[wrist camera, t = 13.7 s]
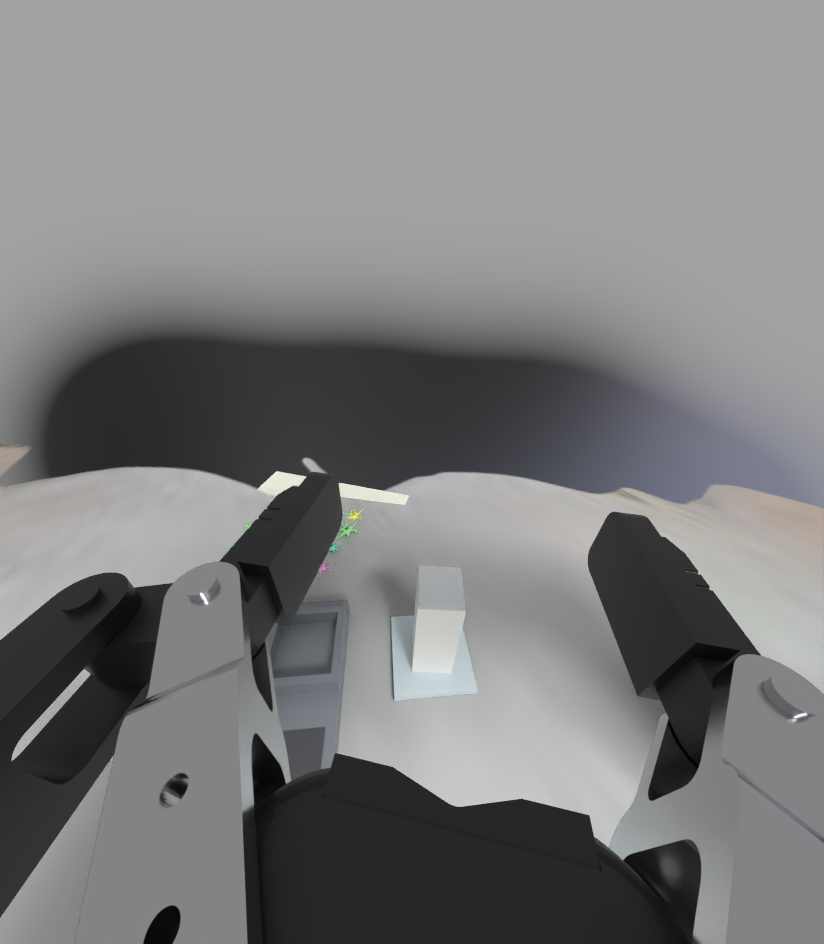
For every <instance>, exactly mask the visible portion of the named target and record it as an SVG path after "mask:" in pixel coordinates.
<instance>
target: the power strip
mask: <svg viewBox="0 0 824 944" xmlns="http://www.w3.org/2000/svg"><path fill="white" fill-rule="evenodd" d="M348 621H349V605H348V600H343V601H326V602H309V603H301V605H300V607H299V609H298V611H297V612H296V614H295V616H294V618H293V620H292V622H291V624H290V626H288V625H283V624H278V623H274V625H273V627H272V629H271V631H270V632H269V634H268V640H269V648H270V656H271V663H272V671H273V679H274V687H275V694H276V702H277V710H278V716H279V721H280V725H281V728H282V732H283V735H284V740H285V744H286V749H287V755H288V762H289V769H290V777H291V781H292V780H294V779H296V778H298V777H300V776H302V775H305V774H307V773H310V772H313V771H317V770H320V769H325V768H331V765H332V761H333V758H334V754H335V753H338V741H339V729H340V717H341V705H342V693H343V681H344V669H345V657H346V645H347V633H348Z"/></svg>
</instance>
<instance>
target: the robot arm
mask: <svg viewBox="0 0 824 944" xmlns="http://www.w3.org/2000/svg"><path fill="white" fill-rule="evenodd" d="M341 522H342V506H341V498H340V490H339V482H338V478H337V476H336V475H333V474H325V473H318V472H311V473H310V474H308V476H307V477H306V478H305V479H304V480H303V482H302V483H301V484H300V485H299V486H291V487H290V488H288V489H286V490H285V491H283V492H282V493H280V494H278V495H277V496H276V497H275V499H274V500H273V501H272V502H271V503H270V504H269V505H268V507H267V509H265V510H264V511H263V512H262V513H261V515H260V516H259V519H258V520H257V519H256V520H255V521H254V523H253V524H252V525H251V526H250V527H249V528H248V529H247V531H246V532H245V533H244V534H243V535H242V536H241V538H240V539H239V540H238V541H237V542H236V543H235V544H234V546H233V547H232V548H231V549H230V550H229V551H228V552H227V554H226V555H225V556H224V557H223V558H222V559H221V560H220V561H219V562H212V563H207V564H204V565H201V566H198V567H196V568H194V569H192V570H190V571H188V572H187V573H185V574H184V575H182V576H181V577H180V578H179V579H178V580H176V581H175V582H174V583H170V584H162V585H153V586H145V587H137V588H134V587H133V586H132V584H131V583H130V582H129V581H128V579H127V578H126V577H125V576H124V575H122V574H119V573H102V574H97V575H94V576H90V577H88V578H85V579H82V580H80V581H78V582H76V583H74V584H72V585H70V586H68V587H67V588H65V589H64V590H62V591H60V592H59V593H58V594H56V595H55V596H54V597H52V598H51V599H50V600H49V601H48V602H46V603H45V604H44V605H43V606H41V607H40V608H39V609H38V610H37V611H35V612H34V613H33V614H32V615H31V616H29V617H28V618H27V619H26V620H24V621H23V622H22V623H21V624H20V625H18V626H17V627H16V628H15V629H13V630H12V631H11V632H10V633H9V634H7V635H6V636H5V637H4V638H3V639H1V640H0V917H1V916H2V914H3V913H4V912H5V910H6V909H7V907H8V906H9V904H10V903H11V901H12V900H13V899H14V897H15V896H16V894H17V893H18V891H19V890H20V889H21V887H22V886H23V884H24V883H25V881H26V880H27V878H28V877H29V876H30V874H31V873H32V871H33V870H34V868H35V867H36V866H37V864H38V863H39V861H40V860H41V858H42V857H43V856H44V854H45V853H46V851H47V850H48V848H49V847H50V845H51V844H52V843H53V841H54V840H55V838H56V837H57V835H58V834H59V833H60V831H61V830H62V828H63V827H64V825H65V824H66V822H67V821H68V820H69V818H70V817H71V815H72V814H73V812H74V811H75V810H76V808H77V807H78V805H79V804H80V802H81V801H82V799H83V798H84V797H85V795H86V794H87V792H88V791H89V789H90V788H91V787H92V785H93V784H94V782H95V781H96V779H97V778H98V777H99V775H100V774H101V772H102V771H103V769H104V768H105V766H106V765H107V764H108V762H109V761H110V759H111V758H112V756H113V755H114V758H113V763H112V767H111V772H110V777H109V781H108V786H107V791H106V795H105V800H104V805H103V810H102V814H101V819H100V824H99V828H98V833H97V838H96V842H95V847H94V852H93V857H92V861H91V866H90V871H89V875H88V880H87V885H86V889H85V894H84V899H83V903H82V908H81V913H80V918H79V922H78V927H77V932H76V936H75V941H74V944H824V694H823V693H822V692H821V691H820V690H819V689H818V688H816V687H815V686H814V685H813V684H811V683H810V682H809V681H808V680H806V679H805V678H804V677H802V676H801V675H799V674H798V673H796V672H795V671H793V670H792V669H790V668H788V667H786V666H785V665H783V664H781V663H779V662H776V661H774V660H772V659H769V658H766V657H763V656H761V655H760V654H759V652H758V651H757V650H756V648H755V647H754V646H753V644H752V643H751V642H750V640H749V639H748V638H747V636H746V635H745V634H744V632H743V631H742V630H741V628H740V627H739V626H738V624H737V623H736V621H735V620H734V619H733V617H732V616H731V615H730V613H729V612H728V611H727V609H726V608H725V607H724V605H723V604H722V603H721V601H720V600H719V599H718V597H717V596H716V595H715V593H714V592H713V591H711V590H709V585H708V584H707V583H706V581H705V580H704V579H703V577H702V576H701V575H698V571H697V569H696V568H695V566H694V565H693V564H692V562H691V561H690V560H689V558H688V557H687V556H686V554H685V553H684V552H682V551H681V550H680V549H679V548H678V547H676V546H675V545H674V544H673V543H671V542H670V541H669V540H668V539H667V538H665V537H661V536H660V534H659V533H658V532H657V530H656V529H655V527H654V526H653V524H652V523H651V522H650V520H649V519H648V518H647V517H645V516H642V515H635V514H627V513H619V512H612V513H610V514H609V515H608V516H607V518H606V520H605V522H604V523H603V525H602V527H601V529H600V531H599V533H598V535H597V537H596V538H595V540H594V542H593V544H592V546H591V548H590V550H589V554H588V567H589V571H590V573H591V576H592V579H593V581H594V584H595V586H596V589H597V592H598V594H599V597H600V599H601V602H602V605H603V607H604V610H605V612H606V615H607V618H608V620H609V623H610V625H611V628H612V631H613V633H614V636H615V638H616V641H617V644H618V646H619V649H620V651H621V654H622V657H623V659H624V662H625V664H626V667H627V670H628V672H629V675H630V677H631V680H632V683H633V685H634V688H635V690H636V693H637V696H640V697H645V698H650V699H655V700H660V701H661V702H662V704H663V707H664V709H665V711H666V712H665V713H664V714H663V715H662V716H661V717H660V719H659V722H658V725H657V728H656V732H655V735H654V738H653V741H652V745H651V748H650V751H649V755H648V758H647V761H646V764H645V768H644V771H643V774H642V778H641V781H640V784H639V787H638V791H637V794H636V796H635V799H634V801H633V803H632V805H631V806H630V808H629V809H628V811H627V812H626V813H625V814H624V816H623V817H622V819H621V820H620V822H619V824H618V826H617V827H616V830H615V832H614V834H613V837H612V839H611V842H610V845H609V848H608V847H607V846H606V845H604V844H603V843H602V842H600V841H599V840H598V839H597V838H595V837H594V835H593V831H592V826H591V821H590V817H589V815H585V814H581V813H577V812H573V811H569V810H565V809H561V808H557V807H553V806H549V805H545V804H541V803H536V802H532V801H528V800H524V799H518V800H510V801H502V802H495V803H487V804H480V805H472V806H465V807H456V806H452V805H450V804H448V803H447V802H445V801H444V800H442V799H441V798H439V797H437V796H436V795H434V794H433V793H431V792H430V791H428V790H427V789H425V788H424V787H422V786H421V785H419V784H418V783H416V782H415V781H413V780H412V779H410V778H408V777H407V776H405V775H404V774H402V773H401V772H399V771H398V770H396V769H395V768H393V767H390V766H386V765H382V764H378V763H374V762H370V761H366V760H362V759H357V758H353V757H349V756H345V755H341V754H337V753H335V754H334V758H333V761H332V765H331V768H325V769H320V770H317V771H313V772H310V773H307V774H305V775H302V776H300V777H298V778H296V779H294V780H292V781H291V777H290V769H289V762H288V755H287V749H286V744H285V740H284V735H283V732H282V728H281V725H280V721H279V716H278V710H277V702H276V694H275V687H274V679H273V671H272V663H271V656H270V648H269V640H268V634H269V632H270V631H271V629H272V627H273V625H274V623H278V624H283V625H288V626H290V624H291V622H292V620H293V618H294V616H295V614H296V612H297V611H298V609H299V607H300V605H301V603H302V601H303V599H304V597H305V595H306V593H307V591H308V589H309V587H310V585H311V584H312V582H313V580H314V578H315V576H316V574H317V572H318V570H319V568H320V566H321V564H322V562H323V560H324V558H325V557H326V555H327V553H328V551H329V549H330V547H331V545H332V543H333V541H334V539H335V537H336V535H337V533H338V531H339V529H340V526H341ZM83 669H85V670H87V671H88V672H89V673H90V674H91V675H90V676H89V677H88V679H87V680H86V681H85V682H84V683H83V684H82V685H81V686H80V688H79V689H78V690H77V691H76V692H75V693H74V694H73V695H72V697H71V698H70V699H69V700H68V701H67V702H66V703H65V704H64V705H63V707H62V708H61V709H60V710H59V711H58V712H57V713H56V714H55V716H54V717H53V718H52V719H51V720H50V721H49V722H48V723H47V725H46V726H45V727H44V728H43V729H42V730H41V731H40V732H39V734H38V735H37V736H36V737H35V738H34V739H33V740H32V741H31V743H30V744H29V745H28V746H27V747H26V748H25V749H24V750H23V752H22V753H21V754H20V755H19V756H18V757H16V758H15V759H14V760H13V761H12V762H11V759H12V754H13V751H14V749H15V747H16V745H17V743H18V741H19V740H20V739H21V737H22V736H23V735H24V733H25V732H26V731H27V730H28V729H29V728H30V727H31V726H32V725H33V723H34V722H35V721H36V720H37V719H38V718H39V717H40V716H41V715H42V714H43V713H44V712H45V710H46V709H47V708H48V707H49V706H50V705H51V704H52V703H53V702H54V701H55V700H56V698H57V697H58V696H59V695H60V694H61V693H62V692H63V691H64V690H65V689H66V688H67V687H68V685H69V684H70V683H71V682H72V681H73V680H74V679H75V678H76V677H77V676H78V675H79V674H80V672H81V671H82V670H83Z"/></svg>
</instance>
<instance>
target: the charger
mask: <svg viewBox="0 0 824 944" xmlns="http://www.w3.org/2000/svg"><path fill="white" fill-rule="evenodd" d="M465 615H466V602H465V594H464V587H463V579H462V572H461V567H442V566H421V565H419V570H418V574H417V587H416V599H415V612H414V625H413V651H412V671H413V672H434V673H451V672H452V668H453V664H454V660H455V656H456V651H457V647H458V643H459V639H460V635H461V631H462V627H463V623H464V619H465Z"/></svg>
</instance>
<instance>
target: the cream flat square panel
mask: <svg viewBox="0 0 824 944" xmlns="http://www.w3.org/2000/svg"><path fill="white" fill-rule="evenodd" d="M305 478H306V477H305V476H299V475H293V474H288V473H283V472H278V471H277V472H275V473H274V474H273V475H272V476H271V477H270V478H269V479H268V480H267V481H266V482H265V483H264V484H262V485H261V486H260V487H259V488H258V490H260V491H262V492H264V493H267V494H270V495H274V496H277V495H278V494H280V493H282V492H283V491H285V490H286V489H288V488H290V487H291V486H299V485H300V484H301V483H302V482H303V480H304V479H305ZM339 490H340V497H346V498H354V499H362V500H370V501H378V502H386V503H394V504H401V505H406V502H407V500H408V497H409V496H408V495H403V494H397V493H392V492H387V491H381V490H376V489H370V488H365V487H359V486H354V485H348V484H343V483H339ZM362 510H363V509H362ZM362 510H361V511H362ZM354 511H355V509H354ZM361 511H360V512H361ZM360 512H359V513H360ZM359 513H355V512H354V513H352V510H351V514H350V513H345V512H342V514H346V515H348V516H349V517H347V518H349V519H351V518H352V519H353V521H354V519H355V518H358V519H361V518H359V517H357V515H362V514H359ZM361 520H363V519H361ZM345 521H346V520H345ZM252 523H253V522H252ZM356 523H357V522H355V524H356ZM355 524H354V525H355ZM243 525H245V524H243ZM251 525H252V524H251V523H250V524H249V526H248V525H247V524H246V525H245V526H246V527H247V529H248V528H249V527H250V526H251ZM354 525H353V526H354ZM342 526H343V528H340V529H339V530H341V531H342V532H343V533H342V534H337V535H340V536H342V535H344V534H346V535H347V536H348V539H349V533H350V532H352V531H354V532H355V533H356V532H358V531H355V530H354V529H352V528H353V526H350V527H349V526H347V522H346V524H345V526H344V525H343V524H342ZM245 530H246V529H245ZM240 531H241V530H240ZM243 531H244V530H243ZM356 534H358V533H356ZM340 536H339V537H340ZM339 537H336V538H339ZM348 539H347V540H348ZM335 542H336V541H335ZM335 542H334V543H335ZM340 543H341V542H340ZM348 543H349V542H348ZM338 544H339V543H338ZM338 544H336V545H333V543H332V545H331V547H330V549H329V551H333V552H334V550H338V549H336V548H335V547H339V546H337V545H338ZM233 546H234V545H233ZM233 546H231V547H233ZM230 549H231V548H230ZM227 550H228V549H227ZM338 551H341V550H338ZM327 560H328V559H327ZM325 563H326V561H325ZM325 563H324V564H323V565H321V566H320V568H319V570H318V572H319V573H320V575H321V572H322V571H329V570H327V568H330V567H331V566H330V567H325ZM328 564H329V563H328ZM326 565H327V564H326ZM333 565H334V564H333ZM333 565H332V566H333ZM330 571H332V570H330ZM333 572H334V571H333ZM319 577H320V576H319Z"/></svg>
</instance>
